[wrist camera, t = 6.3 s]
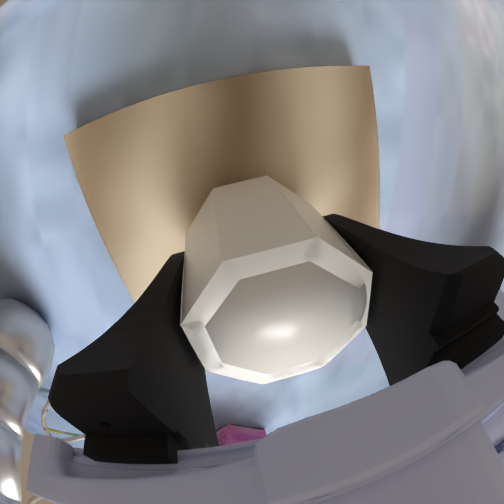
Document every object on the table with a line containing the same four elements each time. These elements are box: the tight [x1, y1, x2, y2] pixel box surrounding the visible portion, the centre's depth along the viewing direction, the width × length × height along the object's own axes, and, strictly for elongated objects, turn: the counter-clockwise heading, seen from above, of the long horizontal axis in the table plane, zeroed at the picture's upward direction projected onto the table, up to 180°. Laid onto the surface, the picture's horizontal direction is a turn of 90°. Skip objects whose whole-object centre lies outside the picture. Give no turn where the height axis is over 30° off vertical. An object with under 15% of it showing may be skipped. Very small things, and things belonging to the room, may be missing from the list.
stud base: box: [64, 66, 380, 302], centre depth 12 cm, size 14×14×6 cm
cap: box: [180, 175, 373, 384], centre depth 10 cm, size 5×5×6 cm
